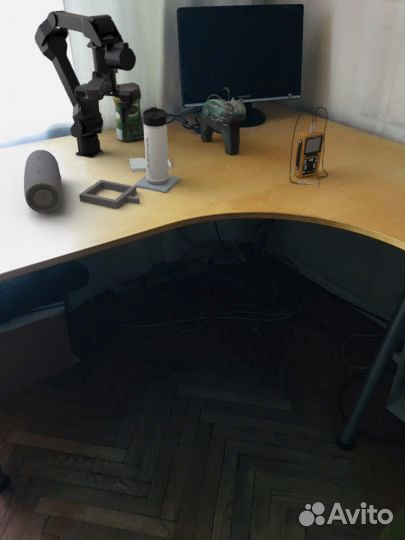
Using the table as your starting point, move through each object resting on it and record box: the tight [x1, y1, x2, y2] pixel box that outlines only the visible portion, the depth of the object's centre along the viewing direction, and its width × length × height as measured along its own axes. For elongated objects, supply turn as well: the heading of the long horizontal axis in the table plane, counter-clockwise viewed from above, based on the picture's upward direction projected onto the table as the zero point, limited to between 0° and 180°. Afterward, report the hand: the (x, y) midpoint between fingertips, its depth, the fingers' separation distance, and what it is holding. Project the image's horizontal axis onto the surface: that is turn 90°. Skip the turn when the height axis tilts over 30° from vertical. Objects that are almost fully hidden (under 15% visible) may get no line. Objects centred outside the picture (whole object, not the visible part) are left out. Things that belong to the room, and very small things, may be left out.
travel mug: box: [142, 106, 169, 185], centre depth 127 cm, size 6×7×20 cm
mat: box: [133, 174, 182, 194], centre depth 133 cm, size 10×10×1 cm
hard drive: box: [128, 157, 173, 172], centre depth 144 cm, size 2×8×12 cm
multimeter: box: [289, 106, 328, 187], centre depth 131 cm, size 15×10×20 cm
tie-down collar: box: [79, 179, 141, 210], centre depth 124 cm, size 15×10×2 cm
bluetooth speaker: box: [23, 149, 62, 214], centre depth 121 cm, size 23×9×10 cm, turn 17°
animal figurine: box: [199, 87, 247, 156], centre depth 151 cm, size 20×6×20 cm, turn 35°
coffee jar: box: [111, 82, 144, 143], centre depth 158 cm, size 10×8×19 cm
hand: (111, 122), depth 136 cm, fingers open, 9 cm apart
